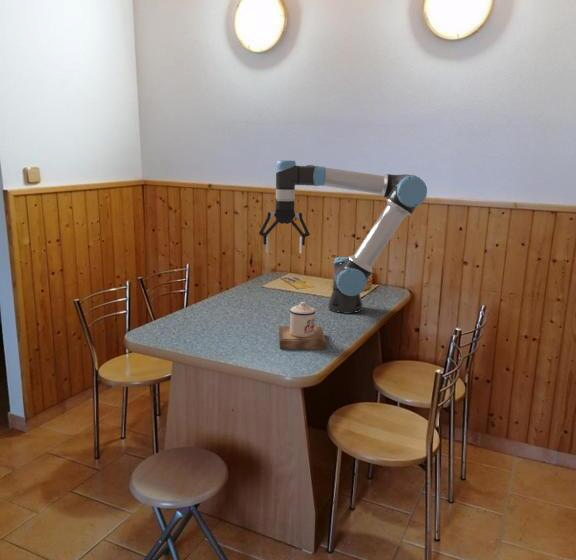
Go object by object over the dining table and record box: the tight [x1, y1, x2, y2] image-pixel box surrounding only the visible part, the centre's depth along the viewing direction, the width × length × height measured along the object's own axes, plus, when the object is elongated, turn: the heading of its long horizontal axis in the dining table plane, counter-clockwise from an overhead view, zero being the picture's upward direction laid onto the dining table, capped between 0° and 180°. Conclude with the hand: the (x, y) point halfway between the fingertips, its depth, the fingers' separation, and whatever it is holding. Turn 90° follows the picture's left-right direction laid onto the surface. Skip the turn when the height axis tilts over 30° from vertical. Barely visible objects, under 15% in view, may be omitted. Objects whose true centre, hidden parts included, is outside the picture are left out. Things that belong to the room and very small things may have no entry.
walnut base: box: [278, 325, 327, 350], centre depth 198 cm, size 16×16×3 cm
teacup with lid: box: [289, 301, 316, 337], centre depth 197 cm, size 12×9×12 cm
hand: (283, 252), depth 223 cm, fingers open, 13 cm apart
